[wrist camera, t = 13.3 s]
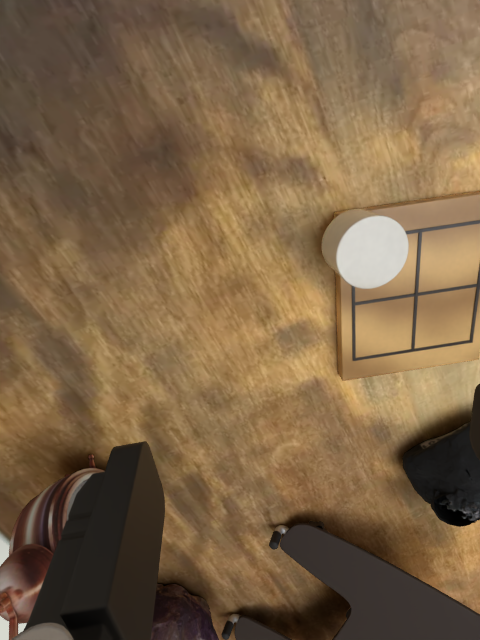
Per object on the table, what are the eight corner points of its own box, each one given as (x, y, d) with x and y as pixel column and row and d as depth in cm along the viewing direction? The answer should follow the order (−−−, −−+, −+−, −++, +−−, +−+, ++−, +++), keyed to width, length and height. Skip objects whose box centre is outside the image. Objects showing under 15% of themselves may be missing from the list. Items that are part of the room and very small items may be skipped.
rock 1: (201, 610, 47) (215, 558, 43) (212, 700, 40) (231, 647, 36) (101, 625, 44) (106, 570, 40) (94, 726, 36) (99, 671, 32)
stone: (319, 213, 27) (335, 221, 23) (387, 203, 27) (411, 210, 24) (322, 279, 28) (337, 294, 25) (385, 269, 29) (407, 283, 25)
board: (333, 212, 28) (339, 214, 27) (492, 188, 28) (505, 190, 27) (337, 373, 34) (342, 382, 32) (470, 353, 34) (480, 360, 33)
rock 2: (405, 431, 44) (421, 388, 37) (503, 464, 40) (543, 424, 33) (386, 510, 40) (400, 479, 32) (495, 556, 36) (540, 534, 28)
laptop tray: (301, 463, 45) (282, 518, 37) (502, 574, 40) (533, 667, 32) (238, 586, 53) (211, 653, 45) (398, 691, 48) (401, 790, 40)
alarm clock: (159, 502, 38) (133, 699, 24) (121, 524, 39) (76, 727, 25) (81, 433, 34) (-3, 623, 20) (41, 459, 35) (-66, 659, 21)
